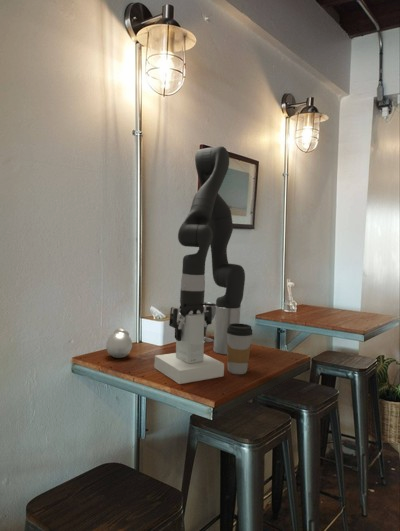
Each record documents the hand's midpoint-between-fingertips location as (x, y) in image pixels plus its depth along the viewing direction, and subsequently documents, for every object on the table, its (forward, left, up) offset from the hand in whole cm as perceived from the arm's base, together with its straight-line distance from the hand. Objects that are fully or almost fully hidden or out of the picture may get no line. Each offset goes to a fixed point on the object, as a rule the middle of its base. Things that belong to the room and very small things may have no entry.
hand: (190, 339), depth 133 cm
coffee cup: (-15, +6, -11) cm, 19 cm away
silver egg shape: (+14, -23, -11) cm, 29 cm away
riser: (0, 0, -11) cm, 11 cm away
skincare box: (0, 0, -7) cm, 7 cm away
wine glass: (-27, -31, -11) cm, 43 cm away
